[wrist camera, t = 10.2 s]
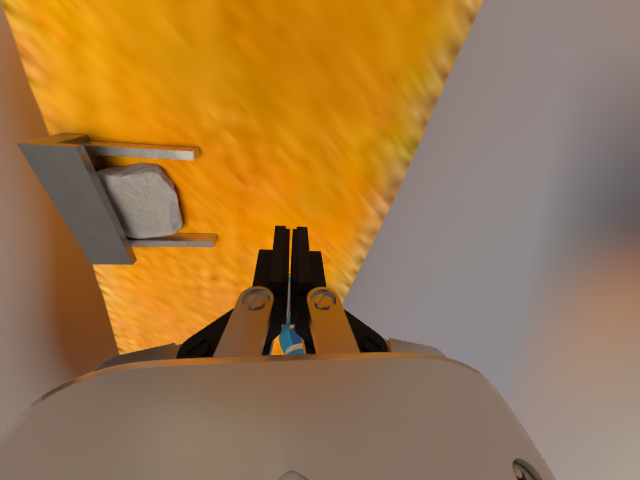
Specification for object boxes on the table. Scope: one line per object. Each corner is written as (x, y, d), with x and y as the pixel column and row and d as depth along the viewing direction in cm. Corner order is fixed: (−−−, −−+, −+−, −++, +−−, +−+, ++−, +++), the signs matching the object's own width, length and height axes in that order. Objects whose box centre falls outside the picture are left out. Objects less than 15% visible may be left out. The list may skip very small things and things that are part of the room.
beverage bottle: (274, 280, 51) (264, 377, 34) (307, 264, 49) (313, 357, 32) (295, 301, 55) (295, 396, 39) (326, 287, 53) (340, 380, 37)
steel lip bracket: (63, 133, 32) (16, 143, 27) (197, 141, 34) (179, 152, 29) (117, 241, 42) (91, 264, 37) (218, 242, 44) (207, 264, 39)
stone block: (167, 156, 36) (94, 166, 35) (159, 165, 33) (77, 177, 31) (196, 220, 44) (137, 231, 42) (193, 234, 40) (128, 247, 38)
